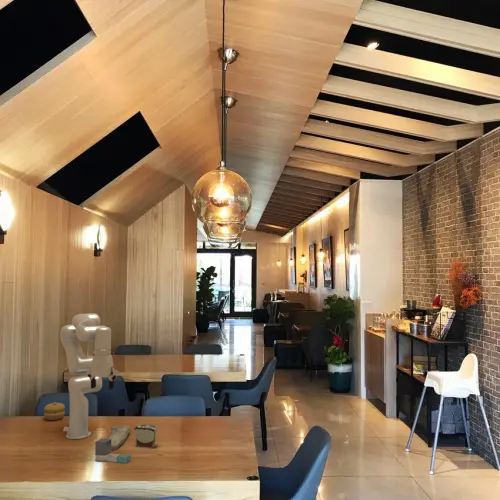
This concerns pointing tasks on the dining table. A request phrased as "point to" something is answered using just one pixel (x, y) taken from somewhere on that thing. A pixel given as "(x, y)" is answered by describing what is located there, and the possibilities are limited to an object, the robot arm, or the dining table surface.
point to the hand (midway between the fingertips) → (102, 388)
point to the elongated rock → (118, 435)
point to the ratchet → (114, 458)
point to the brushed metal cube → (103, 447)
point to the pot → (54, 411)
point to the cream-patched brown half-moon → (145, 435)
